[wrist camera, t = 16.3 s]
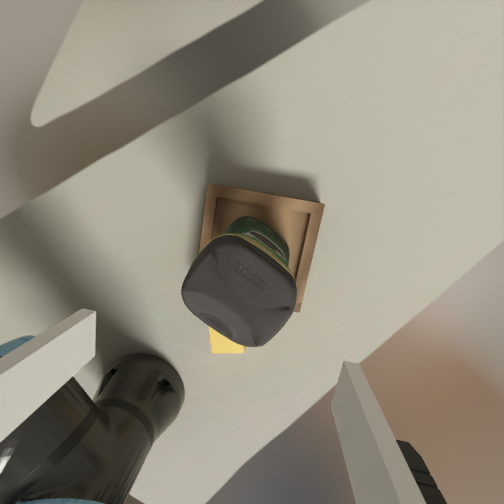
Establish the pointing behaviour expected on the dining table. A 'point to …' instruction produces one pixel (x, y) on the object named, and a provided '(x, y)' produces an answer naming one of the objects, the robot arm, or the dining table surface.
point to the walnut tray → (267, 223)
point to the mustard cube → (223, 343)
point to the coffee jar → (242, 283)
